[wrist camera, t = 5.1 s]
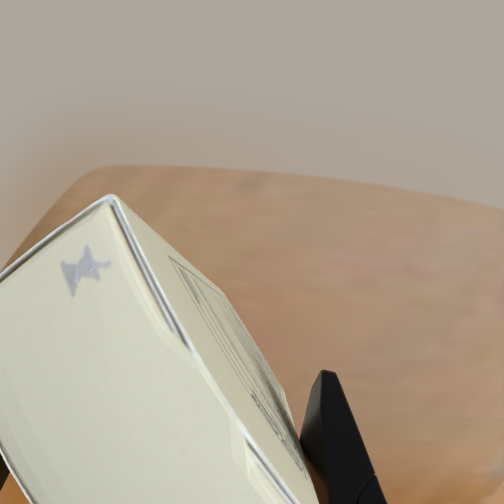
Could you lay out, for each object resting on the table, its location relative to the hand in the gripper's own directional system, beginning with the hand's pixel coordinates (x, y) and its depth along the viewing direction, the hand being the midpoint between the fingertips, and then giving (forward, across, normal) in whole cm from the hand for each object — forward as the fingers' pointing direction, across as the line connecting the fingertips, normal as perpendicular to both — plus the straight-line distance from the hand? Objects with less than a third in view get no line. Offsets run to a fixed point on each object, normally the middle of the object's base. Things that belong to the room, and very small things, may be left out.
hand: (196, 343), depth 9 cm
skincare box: (+4, 0, +6) cm, 7 cm away
